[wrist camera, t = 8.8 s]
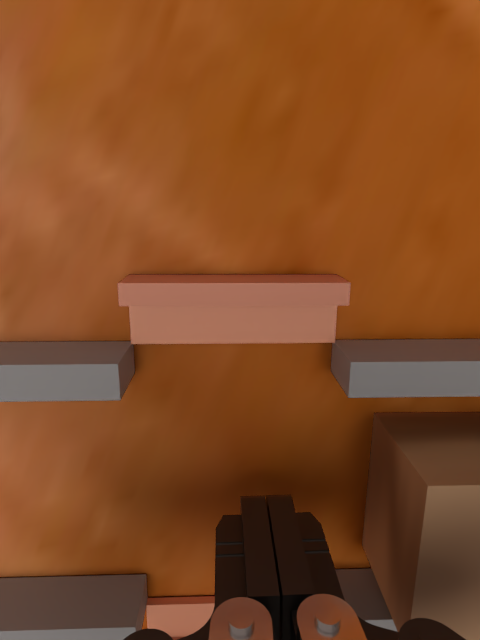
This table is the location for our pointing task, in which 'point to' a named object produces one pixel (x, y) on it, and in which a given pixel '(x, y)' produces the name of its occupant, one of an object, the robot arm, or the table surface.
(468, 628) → the walnut block
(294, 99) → the table surface
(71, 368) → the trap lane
